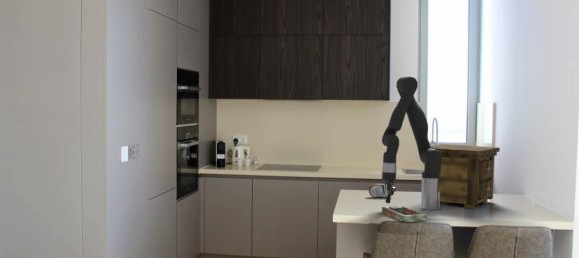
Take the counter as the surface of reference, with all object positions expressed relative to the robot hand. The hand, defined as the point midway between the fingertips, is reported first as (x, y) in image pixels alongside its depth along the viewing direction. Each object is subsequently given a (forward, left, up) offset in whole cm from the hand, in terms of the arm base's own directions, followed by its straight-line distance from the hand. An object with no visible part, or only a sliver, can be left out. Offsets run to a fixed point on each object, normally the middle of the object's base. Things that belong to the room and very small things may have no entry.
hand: (387, 202), depth 309 cm
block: (-1, +8, -4) cm, 9 cm away
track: (-1, +17, -4) cm, 17 cm away
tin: (-16, -40, -4) cm, 43 cm away
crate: (-53, -13, -4) cm, 54 cm away
